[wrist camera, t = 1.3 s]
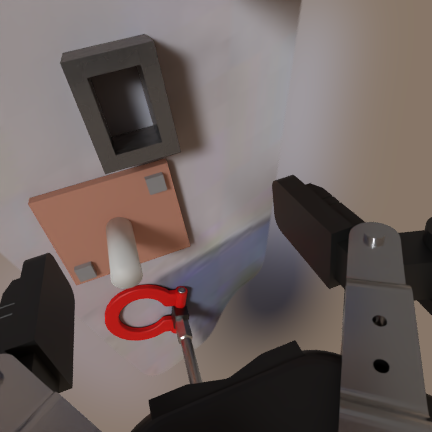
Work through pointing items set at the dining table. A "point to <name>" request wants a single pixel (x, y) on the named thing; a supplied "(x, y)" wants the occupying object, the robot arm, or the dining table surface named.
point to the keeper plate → (103, 203)
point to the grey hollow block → (92, 113)
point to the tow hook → (167, 323)
